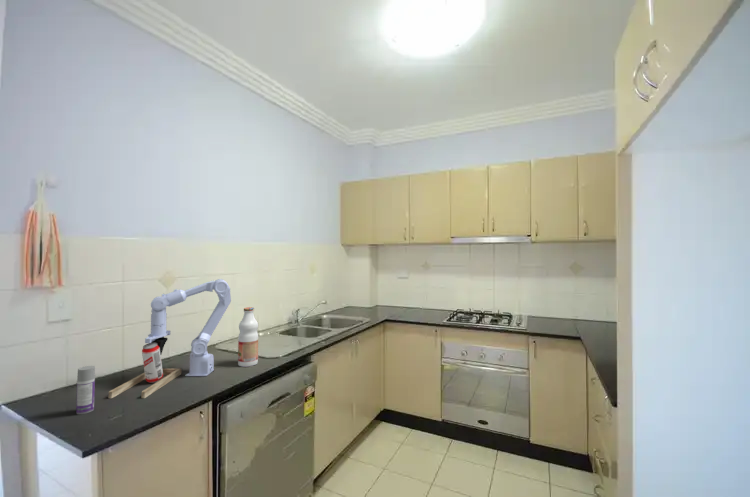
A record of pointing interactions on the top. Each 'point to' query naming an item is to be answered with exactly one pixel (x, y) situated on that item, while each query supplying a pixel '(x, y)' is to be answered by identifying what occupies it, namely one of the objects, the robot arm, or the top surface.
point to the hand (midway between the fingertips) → (158, 355)
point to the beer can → (152, 362)
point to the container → (85, 389)
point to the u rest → (171, 375)
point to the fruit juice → (248, 339)
